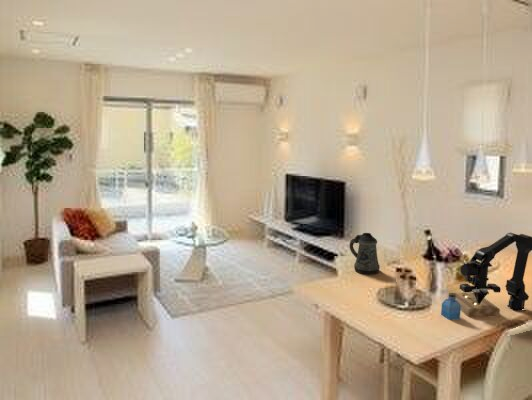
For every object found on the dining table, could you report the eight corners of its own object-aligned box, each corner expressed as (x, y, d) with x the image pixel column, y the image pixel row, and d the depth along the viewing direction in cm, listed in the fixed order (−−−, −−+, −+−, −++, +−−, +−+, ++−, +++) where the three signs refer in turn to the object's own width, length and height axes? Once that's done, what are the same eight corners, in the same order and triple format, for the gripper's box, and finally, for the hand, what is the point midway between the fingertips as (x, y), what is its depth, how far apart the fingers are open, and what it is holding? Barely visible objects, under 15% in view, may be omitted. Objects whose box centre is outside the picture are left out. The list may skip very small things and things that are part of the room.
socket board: (476, 299, 241) (477, 292, 240) (499, 316, 219) (500, 309, 218) (448, 299, 240) (448, 292, 239) (467, 316, 218) (468, 309, 218)
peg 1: (469, 301, 236) (470, 295, 236) (473, 304, 232) (474, 297, 232) (462, 301, 236) (463, 295, 236) (466, 304, 232) (466, 297, 232)
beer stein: (382, 275, 279) (384, 237, 275) (352, 274, 279) (354, 236, 275) (375, 267, 295) (377, 231, 291) (347, 266, 295) (348, 230, 291)
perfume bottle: (449, 319, 214) (451, 296, 212) (440, 314, 220) (442, 292, 218) (459, 318, 216) (461, 295, 214) (451, 313, 222) (453, 291, 220)
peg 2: (479, 309, 226) (480, 302, 226) (483, 312, 222) (484, 305, 222) (471, 309, 226) (472, 302, 226) (475, 312, 222) (476, 305, 222)
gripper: (490, 269, 230) (487, 297, 232) (455, 269, 229) (453, 297, 231) (502, 276, 219) (499, 306, 221) (466, 276, 218) (463, 306, 220)
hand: (478, 303), depth 224 cm, fingers closed, pressing on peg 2
